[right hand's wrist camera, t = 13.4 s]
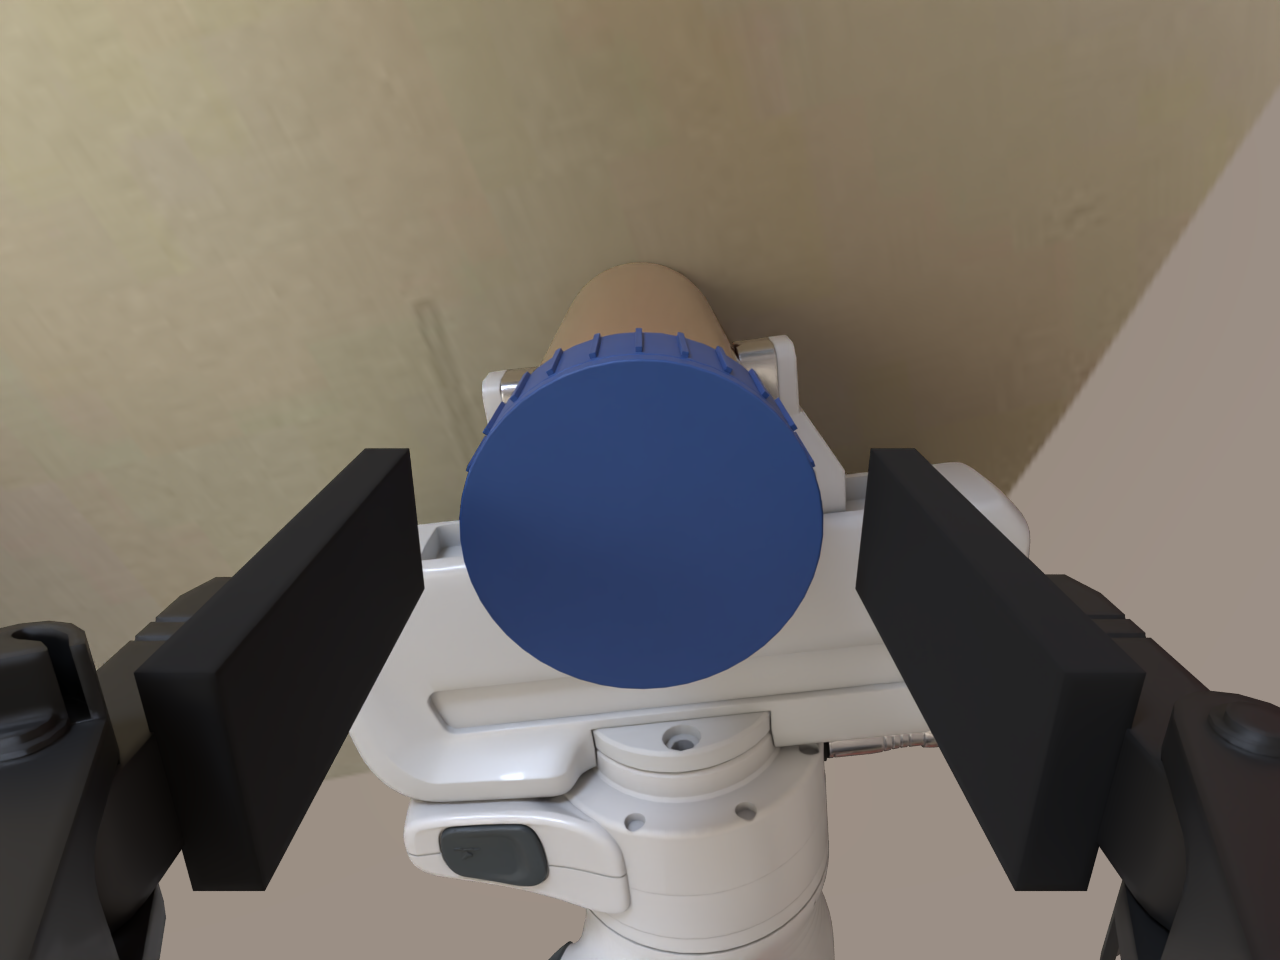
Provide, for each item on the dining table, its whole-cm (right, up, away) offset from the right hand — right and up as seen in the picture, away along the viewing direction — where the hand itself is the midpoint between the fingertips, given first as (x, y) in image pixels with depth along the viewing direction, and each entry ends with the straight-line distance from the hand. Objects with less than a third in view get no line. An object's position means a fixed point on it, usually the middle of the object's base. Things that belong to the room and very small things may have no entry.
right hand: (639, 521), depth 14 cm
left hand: (0, +4, +7) cm, 8 cm away
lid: (0, 0, -1) cm, 1 cm away
